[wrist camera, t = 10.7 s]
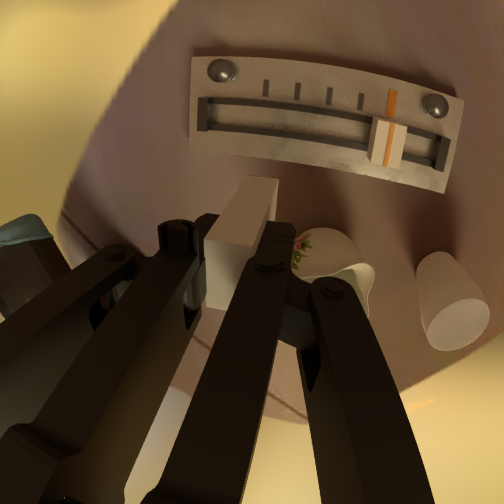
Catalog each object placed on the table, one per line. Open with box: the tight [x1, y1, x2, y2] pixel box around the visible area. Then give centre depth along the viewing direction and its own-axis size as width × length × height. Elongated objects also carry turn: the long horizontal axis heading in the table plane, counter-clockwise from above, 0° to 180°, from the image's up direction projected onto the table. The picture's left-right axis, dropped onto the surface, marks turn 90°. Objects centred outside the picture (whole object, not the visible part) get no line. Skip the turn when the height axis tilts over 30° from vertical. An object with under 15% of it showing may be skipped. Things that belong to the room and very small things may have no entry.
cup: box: [416, 251, 490, 351], centre depth 34 cm, size 9×9×12 cm
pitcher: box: [278, 227, 375, 343], centre depth 37 cm, size 11×18×14 cm, turn 153°
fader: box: [367, 117, 407, 169], centre depth 28 cm, size 3×4×5 cm, turn 176°
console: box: [189, 56, 464, 194], centre depth 31 cm, size 32×12×4 cm, turn 86°
